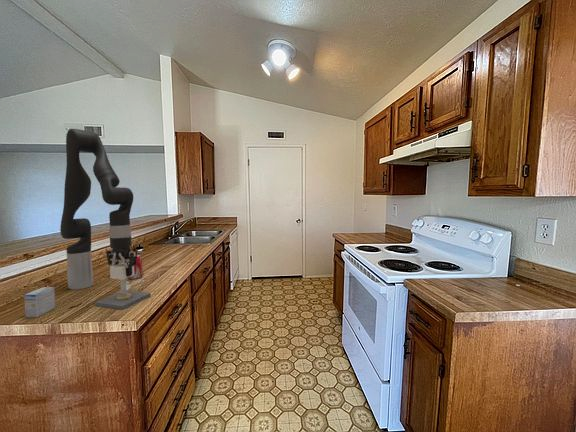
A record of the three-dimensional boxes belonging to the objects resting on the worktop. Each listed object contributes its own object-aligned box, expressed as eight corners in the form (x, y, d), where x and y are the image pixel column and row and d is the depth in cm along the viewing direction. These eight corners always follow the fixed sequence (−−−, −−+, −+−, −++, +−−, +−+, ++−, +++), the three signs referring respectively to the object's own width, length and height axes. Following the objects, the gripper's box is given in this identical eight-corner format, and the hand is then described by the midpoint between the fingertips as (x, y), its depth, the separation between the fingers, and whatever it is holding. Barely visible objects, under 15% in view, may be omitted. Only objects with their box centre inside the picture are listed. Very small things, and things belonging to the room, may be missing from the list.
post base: (95, 305, 104) (93, 281, 104) (125, 293, 118) (124, 271, 117) (122, 309, 101) (121, 285, 100) (150, 296, 114) (149, 274, 113)
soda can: (124, 279, 137) (123, 257, 136) (135, 275, 144) (134, 254, 143) (135, 280, 136) (134, 257, 134) (145, 276, 142) (144, 254, 141)
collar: (110, 278, 106) (109, 266, 106) (123, 274, 112) (122, 262, 112) (122, 279, 105) (121, 267, 104) (134, 275, 110) (133, 263, 110)
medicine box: (44, 308, 102) (42, 287, 101) (56, 307, 103) (54, 286, 102) (25, 317, 94) (23, 294, 94) (38, 317, 95) (36, 294, 94)
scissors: (145, 278, 137) (133, 292, 118) (145, 280, 137) (133, 294, 118) (123, 280, 134) (106, 294, 115) (123, 282, 134) (106, 296, 115)
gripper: (98, 236, 105) (100, 276, 107) (126, 238, 101) (128, 279, 103) (115, 233, 112) (117, 271, 114) (142, 235, 109) (143, 274, 110)
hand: (122, 275), depth 108 cm, fingers closed on collar, 6 cm apart
